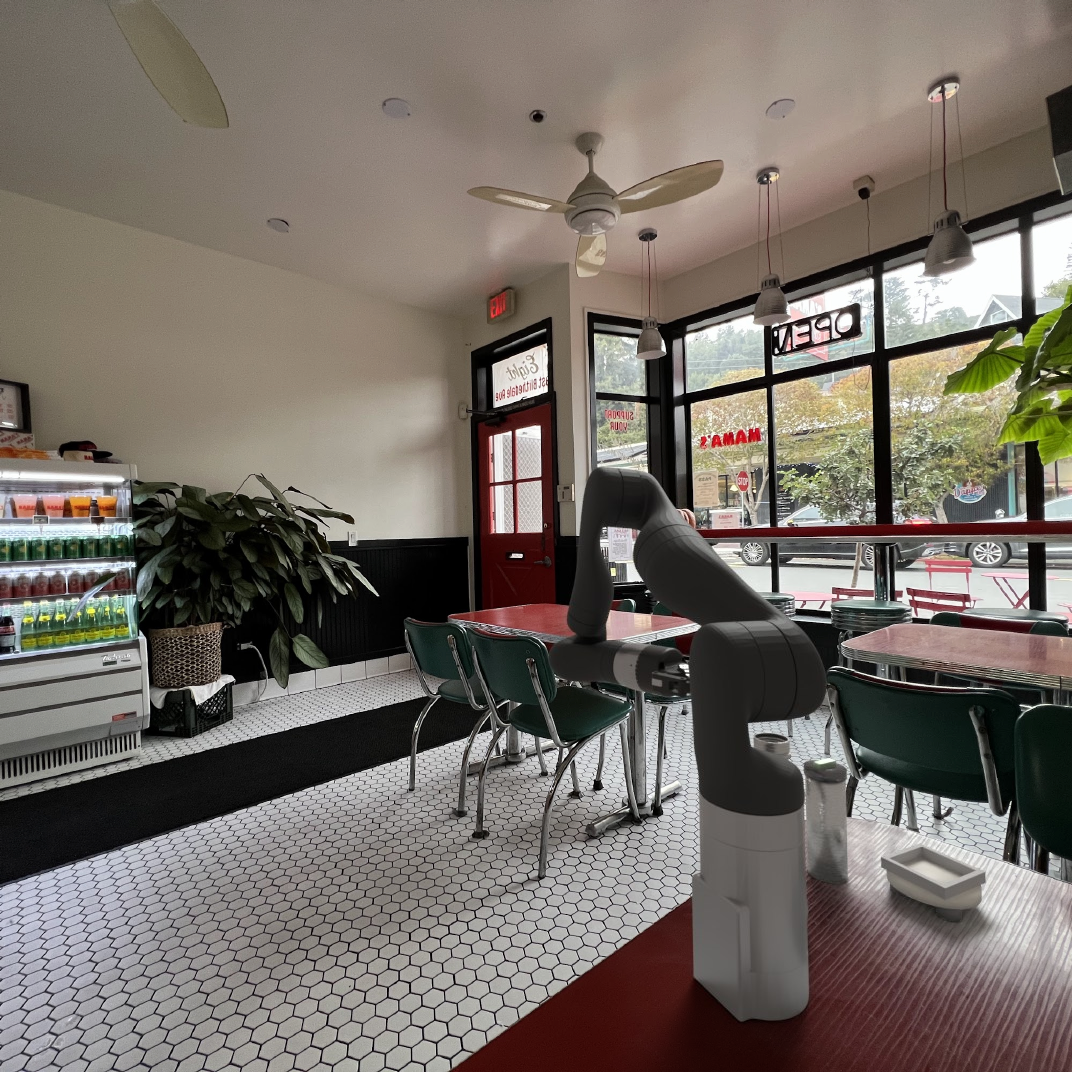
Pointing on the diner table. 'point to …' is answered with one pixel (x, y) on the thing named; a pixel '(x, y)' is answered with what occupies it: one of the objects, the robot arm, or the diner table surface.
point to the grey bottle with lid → (826, 820)
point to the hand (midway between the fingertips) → (741, 686)
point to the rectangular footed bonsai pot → (934, 880)
